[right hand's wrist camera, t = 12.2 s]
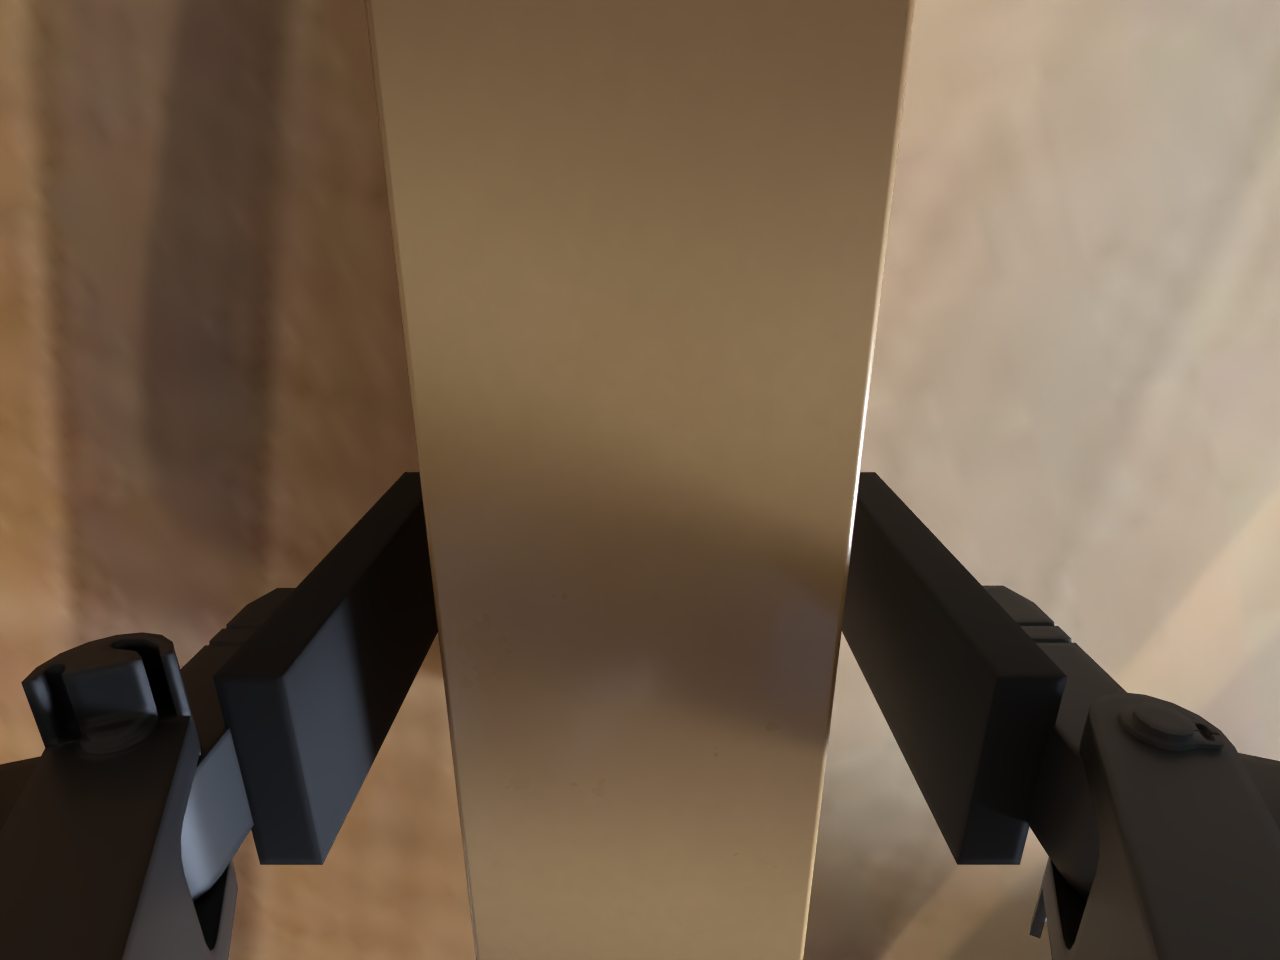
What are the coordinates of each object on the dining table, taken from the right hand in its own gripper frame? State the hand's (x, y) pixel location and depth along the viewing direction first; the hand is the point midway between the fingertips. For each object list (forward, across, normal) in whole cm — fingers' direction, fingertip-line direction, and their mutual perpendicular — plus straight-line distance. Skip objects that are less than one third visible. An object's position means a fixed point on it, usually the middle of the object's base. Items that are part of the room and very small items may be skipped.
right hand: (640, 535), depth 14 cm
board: (+3, 0, -19) cm, 19 cm away
